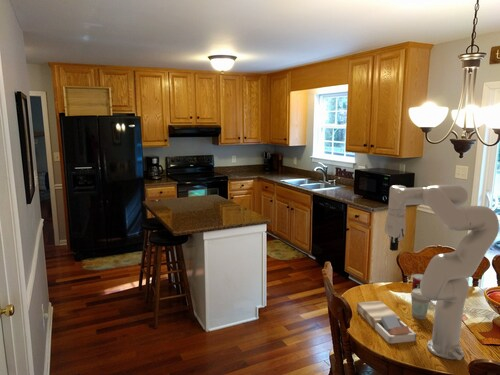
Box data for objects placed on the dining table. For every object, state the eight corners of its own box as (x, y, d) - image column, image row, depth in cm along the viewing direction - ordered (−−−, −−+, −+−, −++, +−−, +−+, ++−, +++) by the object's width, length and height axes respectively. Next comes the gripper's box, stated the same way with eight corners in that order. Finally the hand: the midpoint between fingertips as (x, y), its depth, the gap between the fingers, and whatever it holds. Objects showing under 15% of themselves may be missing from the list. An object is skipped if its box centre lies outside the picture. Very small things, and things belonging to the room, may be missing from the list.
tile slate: (399, 331, 160) (401, 327, 159) (386, 332, 159) (388, 328, 157) (393, 319, 165) (394, 315, 163) (380, 320, 164) (382, 316, 162)
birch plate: (399, 326, 166) (400, 317, 165) (374, 328, 164) (375, 320, 163) (379, 308, 182) (380, 300, 181) (356, 310, 180) (357, 302, 179)
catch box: (415, 340, 155) (416, 334, 154) (389, 343, 153) (389, 336, 152) (400, 326, 166) (400, 320, 165) (375, 329, 163) (375, 322, 163)
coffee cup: (404, 314, 177) (406, 290, 175) (417, 310, 181) (419, 286, 179) (420, 322, 169) (422, 297, 167) (433, 318, 173) (435, 293, 171)
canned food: (409, 297, 195) (410, 276, 193) (414, 292, 200) (416, 272, 199) (424, 301, 190) (426, 281, 188) (429, 296, 195) (431, 276, 194)
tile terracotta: (400, 330, 160) (403, 336, 158) (387, 331, 158) (389, 337, 157) (407, 326, 155) (409, 332, 153) (394, 327, 154) (396, 333, 152)
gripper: (380, 208, 182) (378, 245, 185) (398, 216, 167) (395, 255, 170) (394, 208, 183) (392, 244, 186) (413, 215, 169) (410, 254, 172)
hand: (393, 249), depth 178 cm, fingers closed
